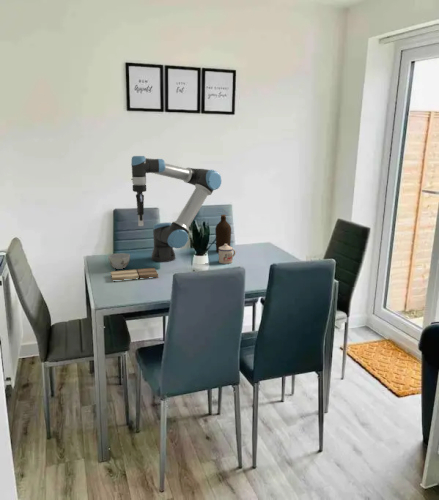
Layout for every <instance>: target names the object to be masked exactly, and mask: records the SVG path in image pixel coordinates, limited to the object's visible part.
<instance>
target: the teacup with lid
mask: <svg viewBox="0 0 439 500" xmlns="http://www.w3.org/2000/svg"><path fill="white" fill-rule="evenodd" d="M218 249H219V253H218V263H220V264H224V265H227V264H228V265H229V264H232V263H233V259H234V258H233V257H235V256H236V250H235V249H234V247H232V246H231V245H230V246H228V245H227V244H224V245H223V246H221V247H219V248H218Z"/></svg>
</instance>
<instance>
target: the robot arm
mask: <svg viewBox="0 0 439 500" xmlns="http://www.w3.org/2000/svg"><path fill="white" fill-rule="evenodd" d="M150 173H151V174H155V175H159V176H163V177H168V178H171V179H176V180H179V181H183V182H184V183H186V184H189V185H192V186H194V187H195V188H194V191H193V192H192V194H191V195H190V197H189V198H188V200H187V202H186V204H185V206H184V208H183V209H182V210H181V212H180V214H179V215H178V217H177V219H176V220H175V221H172V222H159V223H155V224H153V225H152V226H153V227H152V232H153V233H152V235H153V249H152V253H151V260H152V261H154V262H160V263H161V262H162V263H163V262H171V261H174V260H176V254H175V250H174V249H181V248H184V247H185V246H186V245H187V243H188V241H189V232H190V231H189V230H190V229H189V228H190V226H191V224H192V223H193V221H194V219H195V218H196V216H197V214H198V212H200V209H201V208H202V206H203V204H204V202H205V201H206V199H207V197H208V196H211V195H212V193H213V192H214V191H215V190H218V189H220V187H221V185H222V176H221V174H220V173H219V172H218V171H217V170H214V169H205V168H193V167H192V168H191V167H182V166H178V165H173V164H170V163H166V162H165V160H164V159H163V158H146V156H144V155H133V156H132V157H131V176H132V178H131V181H132V184H133V185H132V192H134V193H136V194H135V197H136V209H137V214H136V215H137V220H138V221H137V225H138V227H144V213H145V212H144V211H145V208H144V207H145V206H144V203H145V201H144V199H145V194H143V193H144V192H147V174H150Z"/></svg>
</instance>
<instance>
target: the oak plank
mask: <svg viewBox="0 0 439 500" xmlns="http://www.w3.org/2000/svg"><path fill="white" fill-rule="evenodd" d="M111 276H112V277H111ZM110 277H111V281H112V280H124V279H136V278H139V275H138V273H137V268H134V269H126V270H124V269H122V270H114V271H110ZM139 279H140V278H139Z"/></svg>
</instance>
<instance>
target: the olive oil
mask: <svg viewBox="0 0 439 500" xmlns="http://www.w3.org/2000/svg"><path fill="white" fill-rule="evenodd" d="M226 216H227V215H226V214H220V221H219V222H218V223H217V224H216V226H215V228H214V229H215V247H216V248H215V249H216V250H215V251H216V253H218V254H219V249H218V248H219V247H221V246H223V245H224V244H227V245H228V246H230V247H231V239H232V238H231V237H232V227H231V224H229V222H228V221H227V217H226Z"/></svg>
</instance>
